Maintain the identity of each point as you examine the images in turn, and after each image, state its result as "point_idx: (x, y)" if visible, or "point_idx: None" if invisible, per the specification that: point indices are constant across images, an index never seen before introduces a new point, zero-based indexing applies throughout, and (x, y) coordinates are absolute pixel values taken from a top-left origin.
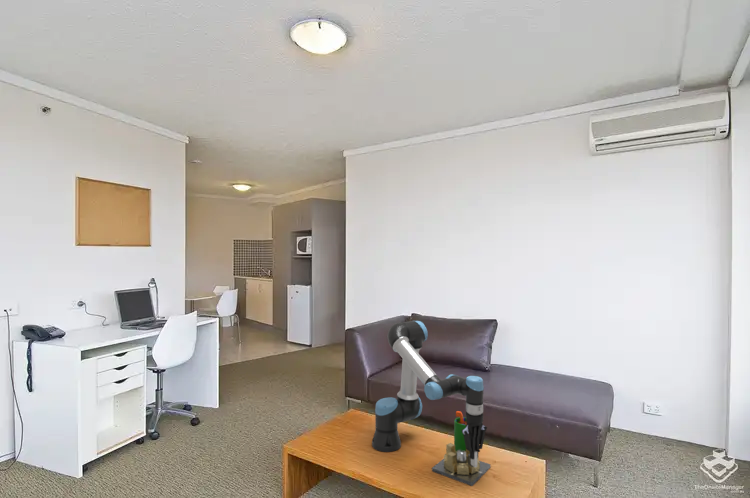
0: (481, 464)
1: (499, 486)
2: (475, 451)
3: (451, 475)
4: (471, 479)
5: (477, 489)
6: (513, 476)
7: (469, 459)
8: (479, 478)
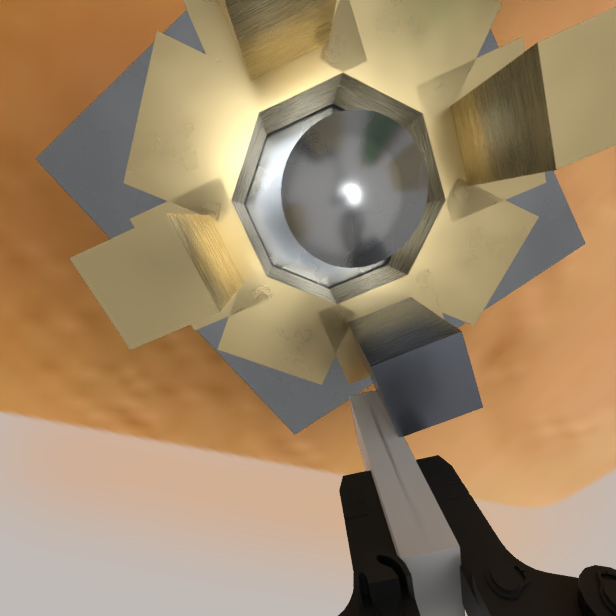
0: None
1: (448, 451)
2: (443, 607)
3: None
4: (309, 402)
5: (308, 451)
6: (607, 383)
7: (368, 365)
8: None
